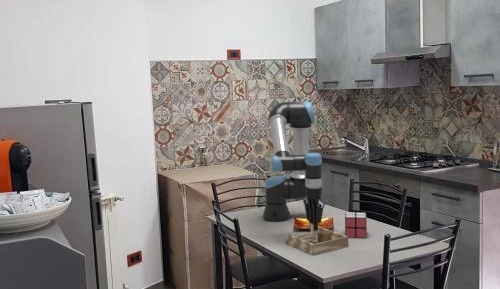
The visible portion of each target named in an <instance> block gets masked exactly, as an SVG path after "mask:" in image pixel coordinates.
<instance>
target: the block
mask: <svg viewBox="0 0 500 289" xmlns="http://www.w3.org/2000/svg"><path fill="white" fill-rule="evenodd" d="M317 236H318V243H321V242H325V241H329V240H332V232H328V231H322V232H318V233H317Z"/></svg>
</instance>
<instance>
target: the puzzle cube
mask: <svg viewBox="0 0 500 289" xmlns="http://www.w3.org/2000/svg"><path fill="white" fill-rule="evenodd" d="M344 215H345V216H344V226H345V227H344V235H345V236H348V239H349V238H351V239H352V238H356V239H366V238H367V231H368V230H367V213H366V212H351V211H350V212H347V211H346V212H345V214H344Z"/></svg>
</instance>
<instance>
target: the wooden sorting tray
mask: <svg viewBox="0 0 500 289" xmlns="http://www.w3.org/2000/svg"><path fill="white" fill-rule="evenodd" d="M322 231H328V232H332V240H329V241H325V242H321V243H318V236H317V237H314V238H312V237H311V231H310V232H306V233H302V234H297V235H292V234H289V233H285V236H284V237H285V238H284V239H285V244H287V245H289V246H291V247H293V248H297V250H298V249H299V250H300V251H304V252H305V253H308V254H310V255H313V256H316V255H320V254H324V253H328V252H331V251H335V250H336V251H337V250H339V249H344V248H347V247H349V238H348V236H345V234H341V233H338V232H336V231H333V230H330V229H327V228H324V227H323V226H322V227H321V226H319V225H318V230H317V233H318V232H322Z"/></svg>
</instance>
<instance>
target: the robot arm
mask: <svg viewBox="0 0 500 289" xmlns="http://www.w3.org/2000/svg"><path fill="white" fill-rule="evenodd" d="M315 117H316V116H315V110H314V107H313V104H312V102H310V101H301V100H300V101H288V102H287V101H283V102H279V103H277V104H276V105H274V106H273V107H272V109H271V110H270V112H269V114H268V117H267V123H268V124H267V125H268V127H269V128H270V132H271V139H272V141H271V142H272V149H273V154H274V155H273V156H271V157H270V168H271V170H272V172H280V173H281V172H292V173H290V174H289V178H288V177H287V176H286V175H284V174H283V175H274V176H270V177H268V178H266V179H265V182H264V184H265V185H264V188H265V206H264V209H263V213H262V219H263V220H265V221H268V222H285V221H289V220H290V219H291V214H290V213H291V212H290V211H289V208H288V205H287V203H288V202H287V200H302V202H303V205H304V210H305V217H306V220H307V221H308V222H309V229H310V232H311V237H312V238H314V237H317V230H318V226H319V224H320V223H322V218H323V214H324V208H325V206H326V205H325V203H322V200H321V196H322V195H323V191H322V190H323V185H322V184H323V180H322V179H323V178H322V175H323V174H322V166H323V164H322V162H323V160H322V155H321V153H319V152H310V150H309V148H310V146H309V145H310V144H309V142H310V141H309V140H310V139H309V131H310V129H311V128H312V124H315ZM287 125H289V127H290V129H291V130H292V154H291V153H290V146H289V141H288V134H287V127H286V126H287Z"/></svg>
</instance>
